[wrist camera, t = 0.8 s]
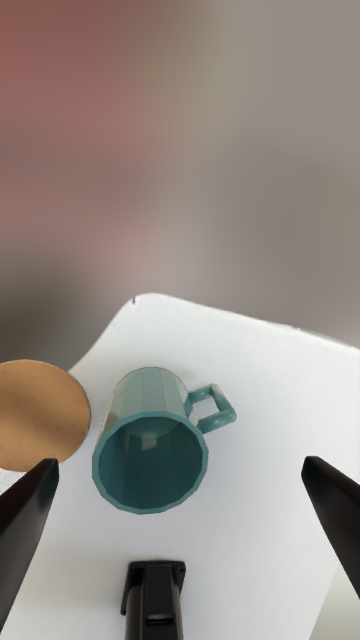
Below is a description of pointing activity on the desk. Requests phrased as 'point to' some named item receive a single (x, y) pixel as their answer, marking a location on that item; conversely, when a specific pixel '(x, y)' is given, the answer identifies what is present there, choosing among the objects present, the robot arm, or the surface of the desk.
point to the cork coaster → (39, 414)
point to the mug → (154, 441)
